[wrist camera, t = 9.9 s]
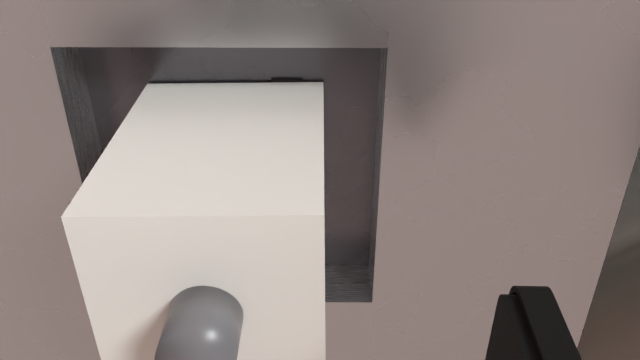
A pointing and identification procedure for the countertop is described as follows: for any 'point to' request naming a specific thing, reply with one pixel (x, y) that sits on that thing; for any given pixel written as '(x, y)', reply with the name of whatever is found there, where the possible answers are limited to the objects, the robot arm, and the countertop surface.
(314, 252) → the plug
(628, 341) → the countertop surface
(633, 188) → the countertop surface
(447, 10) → the socket plate
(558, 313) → the robot arm
